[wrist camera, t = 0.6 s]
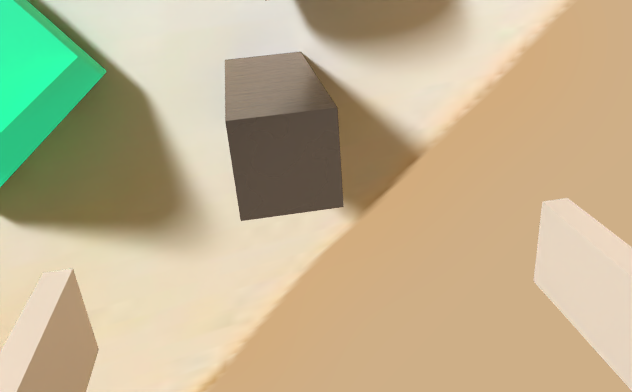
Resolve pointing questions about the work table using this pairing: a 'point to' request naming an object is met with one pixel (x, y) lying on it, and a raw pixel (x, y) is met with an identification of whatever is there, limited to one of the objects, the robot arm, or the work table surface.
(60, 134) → the work table surface
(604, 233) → the robot arm
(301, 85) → the square peg
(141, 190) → the work table surface
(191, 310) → the work table surface
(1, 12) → the camera mount
